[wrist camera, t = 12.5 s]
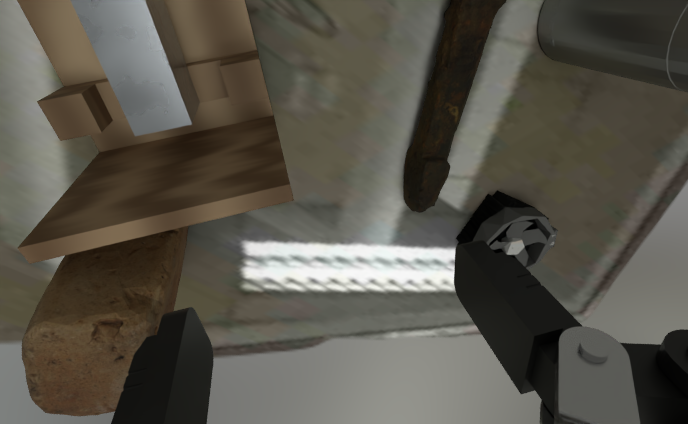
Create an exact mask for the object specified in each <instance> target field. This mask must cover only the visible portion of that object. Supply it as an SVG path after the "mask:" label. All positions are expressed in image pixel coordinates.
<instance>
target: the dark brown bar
mask: <svg viewBox="0 0 688 424" xmlns="http://www.w3.org/2000/svg"><path fill="white" fill-rule="evenodd" d="M505 2H506V0H451V4H450V7H449V8H448V9H447V11H446V12H445V14H444V18H445V20H446V23H445V27H444V31H443V35H442V39H441V42H440V44H439V47H438V51H437V55H436V62H435V66H434V69H433V73H432V76H431V79H430V81H429V82H428V90H427V94H426V98H425V101H424V106H423V110H422V114H421V117H420V121H419V125H418V128H417V131H416V135H415V139H414V142H413V145H412V146H411V147H410V148H409V149H408V151H407V154H406V160H405V170H404V200H405V203H406V204H407V206H408V207H409V208H410V209H411V210H412V211H416V212H423V211H425V210H426V209H428V208H429V207H431V206H434V205H435V202H436V200H437V199H438V196H439V193H440V191H441V189H442V187H443V185H444V183H445V181H446V179H447V177H448V174H449V170H450V165H449V163H448V162H447V158H448V156H449V152H450V148H451V144H452V141H453V137H454V134H455V131H456V129H457V127H458V124H459V121H460V118H461V115H462V112H463V109H464V106H465V104H466V101H467V98H468V95H469V92H470V89H471V86H472V83H473V79H474V77H475V74H476V71H477V68H478V65H479V62H480V59H481V56H482V52H483V49H484V45H485V42H486V39H487V37H488V34H489V30H490V28H491V26H492V22H493V19H494V17H495V15H496V13H497V11H498V9H499V8H500V7H501V6H502V5H503V4H504V3H505Z"/></svg>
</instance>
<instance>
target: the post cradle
mask: <svg viewBox="0 0 688 424" xmlns="http://www.w3.org/2000/svg"><path fill="white" fill-rule="evenodd" d="M17 1H18V3H19V5H20V6H21V8H22V10H23V12H24V14H25V16H26V17H27V19H28V21H29V23H30V25H31V27H32V28H33V30H34V32H35V34H36V36H37V38H38V39H39V41H40V43H41V45H42V47H43V49H44V51H45V52H46V54H47V56H48V58H49V60H50V62H51V63H52V65H53V67H54V69H55V71H56V73H57V74H58V76H59V78H60V80H61V82H62V84H63V85H64V87H62V88H61V89H59V90H57V91H55V92H53V93H52V94H50V95H48V96H46V97H45V98H43V99H41V100H39V101H37V102H38V104H39V106H40V107H41V109H42V111H43V112H44V114H45V116H46V117H47V119H48V121H49V122H50V124H51V126H52V127H53V129H54V131H55V133H56V134H57V136H58V138H59V139H60V141H62V140H67V139H72V138H77V137H82V136H86V135H91V137H92V139H93V141H94V142H95V144H96V146H97V148H98V150H99V152H100V153H99V154H98V155H97V156H96V157H95V158H94V160H93V161H92V162H91V163H90V164H89V165H88V167H87V168H86V169H85V170H84V171H83V172H82V174H81V175H80V176H79V177H78V178H77V179H76V181H75V182H74V183H73V184H72V185H71V186H70V187H69V189H68V190H67V191H66V192H65V193H64V194H63V196H62V197H61V198H60V199H59V200H58V201H57V203H56V204H55V205H54V206H53V207H52V208H51V210H50V211H49V212H48V213H47V214H46V215H45V217H44V218H43V219H42V220H41V221H40V222H39V224H38V225H37V226H36V227H35V228H34V229H33V231H32V232H31V233H30V234H29V235H28V236H27V238H26V239H25V240H24V241H23V242H22V243H21V245H20V246H19V247H18V249H19V251H20V252H21V253H22V254H23V256H24V257H25V258H26V259H27V261H28V262H29V263H30V264H31V263H35V262H39V261H43V260H48V259H52V258H56V257H60V256H64V255H68V254H73V253H77V252H81V251H85V250H89V249H93V248H98V247H102V246H106V245H110V244H114V243H118V242H122V241H127V240H131V239H135V238H139V237H143V236H147V235H152V234H156V233H160V232H164V231H168V230H172V229H177V228H181V227H185V226H189V225H193V224H197V223H202V222H206V221H210V220H214V219H218V218H222V217H226V216H231V215H235V214H239V213H243V212H247V211H251V210H256V209H260V208H264V207H268V206H272V205H276V204H281V203H285V202H289V201H293V200H294V199H293V195H292V191H291V186H290V182H289V178H288V174H287V170H286V165H285V161H284V157H283V153H282V149H281V145H280V140H279V136H278V132H277V128H276V124H275V120H274V116H273V112H272V108H271V104H270V100H269V96H268V92H267V88H266V84H265V80H264V76H263V72H262V68H261V64H260V60H259V56H258V52H257V48H256V44H255V40H254V36H253V32H252V28H251V24H250V20H249V16H248V12H247V8H246V4H245V0H164V3H165V5H166V8H167V11H168V14H169V17H170V20H171V22H172V25H173V28H174V31H175V34H176V36H177V39H178V42H179V45H180V48H181V51H182V53H183V56H184V59H185V62H186V65H187V67H188V70H189V73H190V76H191V79H192V82H193V84H194V87H195V90H196V93H197V96H198V98H199V101H200V104H199V107H198V110H197V112H196V115H195V118H194V121H193V123H192V125H187V126H182V127H178V128H173V129H168V130H163V131H158V132H154V133H149V134H144V135H139V136H135V135H134V133H133V131H132V129H131V127H130V125H129V123H128V120H127V118H126V116H125V114H124V112H123V110H122V108H121V106H120V104H119V101H118V99H117V97H116V95H115V93H114V91H113V89H112V87H111V85H110V83H109V80H108V78H107V76H106V74H105V72H104V70H103V68H102V66H101V64H100V62H99V59H98V57H97V55H96V53H95V51H94V49H93V47H92V45H91V43H90V40H89V38H88V36H87V34H86V32H85V30H84V28H83V26H82V24H81V22H80V19H79V17H78V15H77V13H76V11H75V9H74V7H73V5H72V3H71V0H17Z"/></svg>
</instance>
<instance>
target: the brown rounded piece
mask: <svg viewBox="0 0 688 424" xmlns="http://www.w3.org/2000/svg"><path fill="white" fill-rule="evenodd" d="M187 233H188V226H185V227H181V228H177V229H172V230H168V231H164V232H160V233H156V234H152V235H147V236H143V237H139V238H135V239H131V240H127V241H122V242H118V243H114V244H110V245H106V246H102V247H98V248H93V249H89V250H85V251H81V252H77V253H73V254H68V255H65V257H64V258H63V260H62V261H61V263H60V265H59V267H58V269H57V271H56V272H55V274H54V276H53V278H52V280H51V282H50V284H49V285H48V287H47V289H46V290H45V292H44V294H43V296H42V298H41V300H40V302H39V303H38V305H37V307H36V310H35V312H34V314H33V316H32V318H31V320H30V323H29V325H28V328H27V330H26V333H25V335H24V338H23V341H22V360H23V362H24V366H25V371H26V379H27V385H28V388H29V393H30V396H31V398H32V400H33V401H34V402H35V404H36V405H38V406H39V407H40V408H41V409H42V410H43V411H44V412H45V413H51V414H64V415H71V416H87V415H99V414H103V413H109V412H114V411H115V410H116V407H117V404H118V401H119V398H120V395H121V392H123V386H124V383H125V380H126V377H127V376H128V371H129V368H130V365H131V362H132V359H133V356H134V354H135V352H136V351H137V350H138V348H139V347H140V346H141V344H142V343H143V342H144V340H145V339H146V337H149V336H153V335H157V332H158V328H159V325H160V321H161V318H162V316H163V315H164V314H165V313H169V312H173V310H174V306H175V301H176V296H177V291H178V286H179V281H180V276H181V271H182V265H183V259H184V253H185V248H186V241H187Z"/></svg>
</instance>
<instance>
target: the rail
mask: <svg viewBox="0 0 688 424" xmlns="http://www.w3.org/2000/svg"><path fill="white" fill-rule="evenodd" d="M71 3H72V5H73V7H74V9H75V11H76V13H77V15H78V17H79V19H80V22H81V24H82V26H83V28H84V30H85V32H86V34H87V36H88V38H89V40H90V43H91V45H92V47H93V49H94V51H95V53H96V55H97V57H98V59H99V62H100V64H101V66H102V68H103V70H104V72H105V74H106V76H107V78H108V80H109V83H110V85H111V87H112V89H113V91H114V93H115V95H116V97H117V99H118V101H119V104H120V106H121V108H122V110H123V112H124V114H125V116H126V118H127V120H128V123H129V125H130V127H131V129H132V131H133V133H134V135H135V136H139V135H144V134H149V133H154V132H158V131H163V130H168V129H173V128H178V127H182V126H187V125H192V123H193V121H194V118H195V115H196V112H197V110H198V107H199V104H200V101H199V98H198V96H197V93H196V90H195V87H194V84H193V82H192V79H191V76H190V73H189V70H188V67H187V65H186V62H185V59H184V56H183V53H182V51H181V48H180V45H179V42H178V39H177V36H176V34H175V31H174V28H173V25H172V22H171V20H170V17H169V14H168V11H167V8H166V5H165V3H164V0H71Z"/></svg>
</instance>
